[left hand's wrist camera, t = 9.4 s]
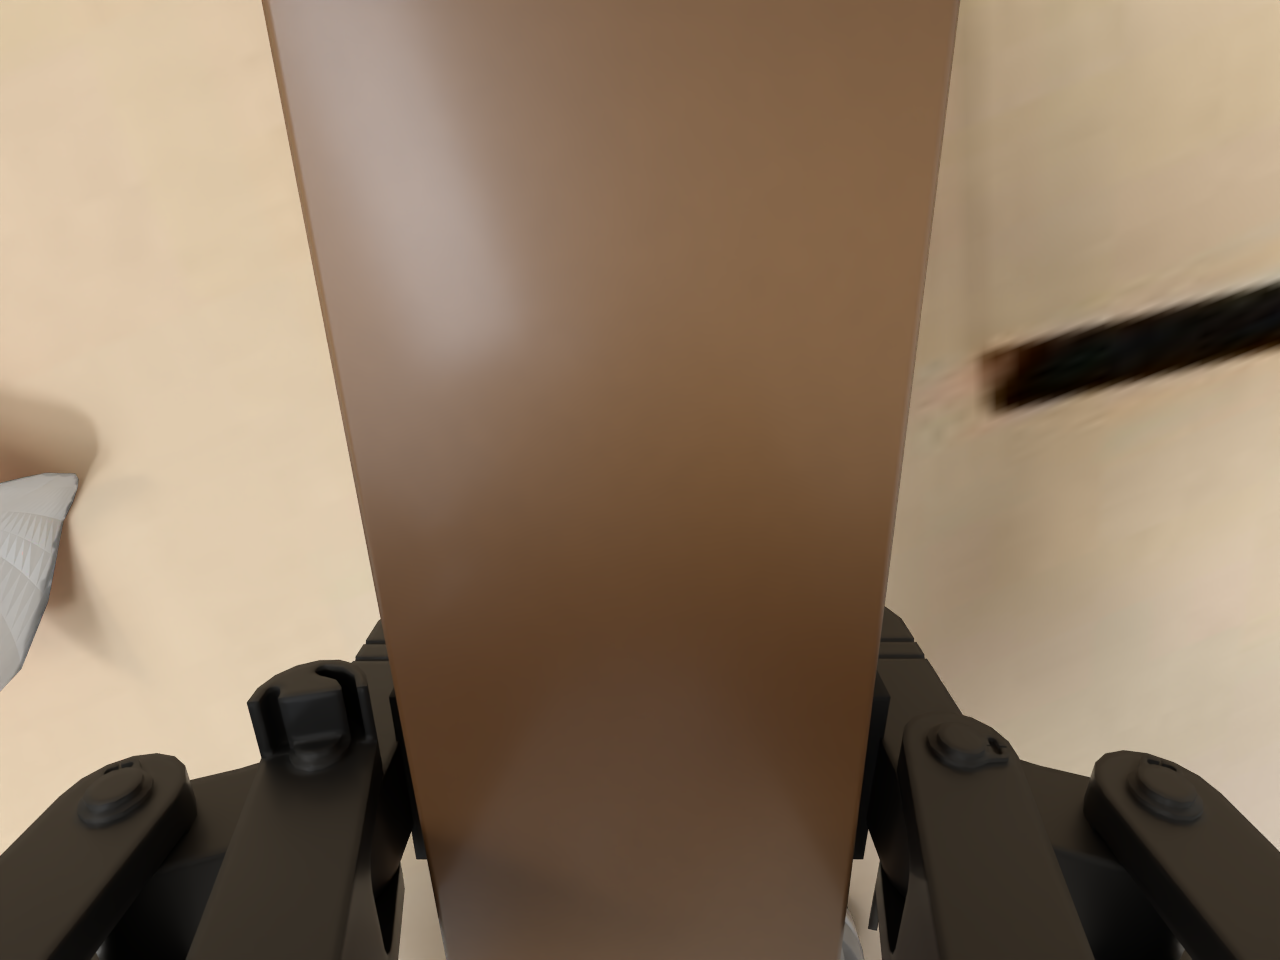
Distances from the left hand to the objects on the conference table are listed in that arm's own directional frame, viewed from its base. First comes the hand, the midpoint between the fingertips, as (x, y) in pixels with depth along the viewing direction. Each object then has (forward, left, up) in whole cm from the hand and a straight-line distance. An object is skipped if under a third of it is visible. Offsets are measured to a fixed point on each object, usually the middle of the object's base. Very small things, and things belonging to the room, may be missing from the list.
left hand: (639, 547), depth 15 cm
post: (+20, +9, -1) cm, 22 cm away
